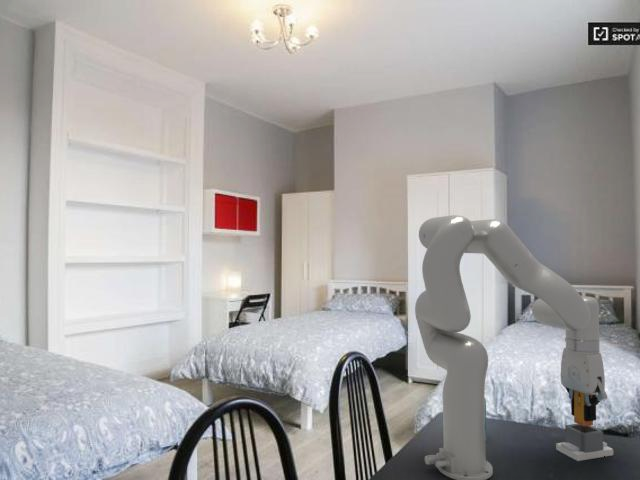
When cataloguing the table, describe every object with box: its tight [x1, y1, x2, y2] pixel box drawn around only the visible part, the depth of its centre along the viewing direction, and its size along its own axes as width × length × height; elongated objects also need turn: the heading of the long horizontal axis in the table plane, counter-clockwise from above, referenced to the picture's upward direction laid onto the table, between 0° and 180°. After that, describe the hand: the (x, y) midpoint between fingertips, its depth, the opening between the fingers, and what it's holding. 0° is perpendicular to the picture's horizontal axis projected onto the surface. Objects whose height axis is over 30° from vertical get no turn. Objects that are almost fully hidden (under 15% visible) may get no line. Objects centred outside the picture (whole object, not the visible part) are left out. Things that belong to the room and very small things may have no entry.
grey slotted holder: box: [555, 423, 614, 462], centre depth 122 cm, size 11×7×6 cm, turn 106°
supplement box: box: [573, 390, 594, 426], centre depth 122 cm, size 3×3×10 cm
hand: (583, 416), depth 122 cm, fingers closed on supplement box, 3 cm apart
